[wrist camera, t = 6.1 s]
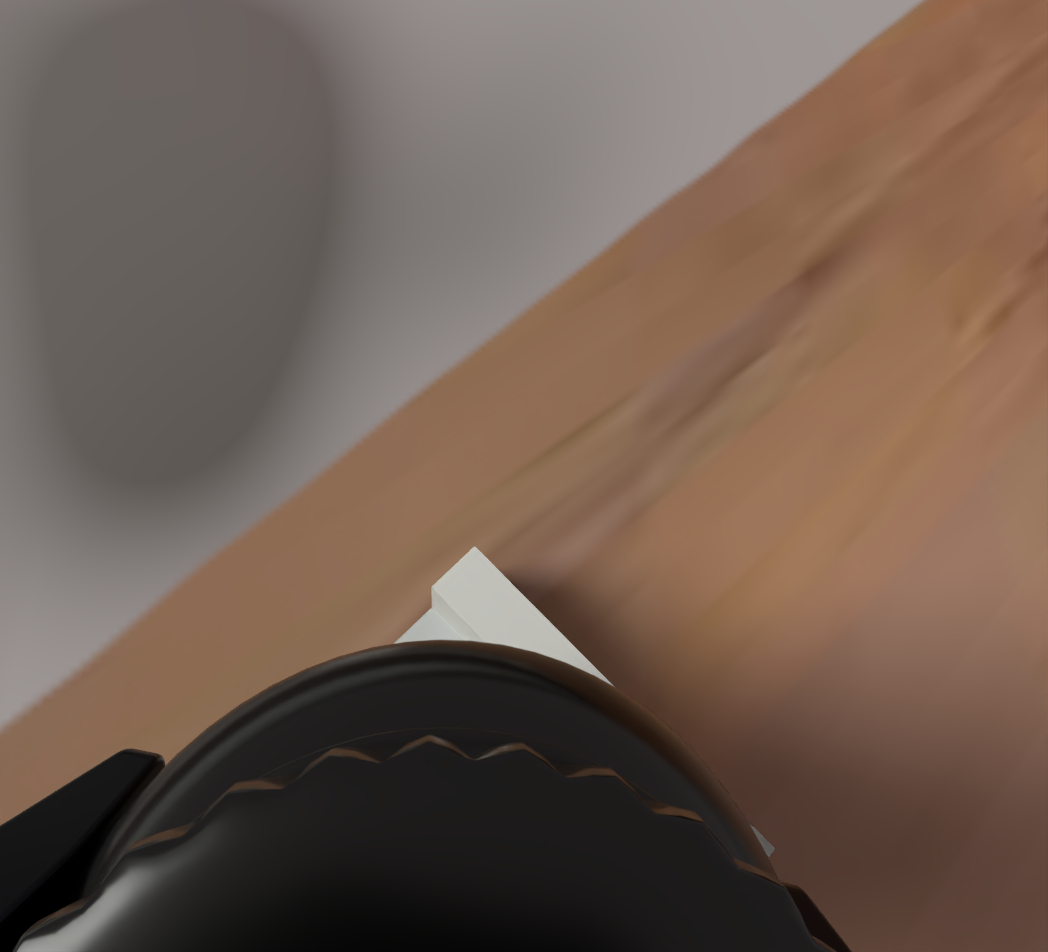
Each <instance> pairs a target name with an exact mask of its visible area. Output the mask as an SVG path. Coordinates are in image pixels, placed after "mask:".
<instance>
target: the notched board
mask: <svg viewBox="0 0 1048 952" xmlns="http://www.w3.org/2000/svg"><path fill="white" fill-rule="evenodd" d="M425 640H471V641H479V642H487V643H495V644H502V645H507V646H511V647H516V648H520V649H524V650H529V651H533V652H537V653H539V654H542V655H545V656H548V657H551V658H554V659H557V660H560V661H563V662H566V663H568V664H570V665H572V666H575V667H577V668H579V669H581V670H583V671H586V672H588V673H590V674H592V675H594V676H596V677H598V678H600V679H602V680H603V681H605V682H607V683H608V684H610V685H612V684H611V683H610V682H609V681H608V680H607V679H606V678H605V677H604V676H603V675H602V674H601V673H600V672H599V671H598V670H597V669H596V668H595V667H594V666H593V665H592V664H591V663H590V662H589V661H588V660H587V659H586V658H585V657H584V656H583V655H582V654H581V653H580V652H579V651H578V650H577V649H576V648H575V647H574V646H573V645H572V644H571V643H570V642H569V641H568V640H567V639H566V638H565V637H564V636H563V634H562V633H561V632H560V631H559V630H558V629H557V628H556V627H555V626H554V625H553V624H552V623H551V622H550V621H549V620H548V619H547V618H546V617H545V616H544V615H543V614H542V613H541V612H540V611H539V610H538V609H537V608H536V607H535V606H534V605H533V604H532V603H531V602H530V601H529V600H528V599H527V598H526V597H525V596H524V595H523V594H522V593H521V592H520V591H519V590H518V589H517V588H516V587H515V586H514V585H513V584H512V583H511V582H510V581H509V580H508V579H507V578H506V577H505V576H504V575H503V574H502V573H501V572H500V571H499V570H498V569H497V568H496V567H495V566H494V565H493V564H492V563H491V562H490V561H489V560H488V559H487V558H486V557H485V556H484V555H483V554H482V553H481V552H480V551H479V550H478V549H477V548H476V547H475V546H474V547H473V548H472V549H471V550H470V551H469V552H468V553H467V554H466V555H465V556H464V557H463V558H462V559H461V560H460V561H458V562H457V563H456V564H455V565H454V566H453V567H452V568H451V569H450V570H449V571H448V572H447V573H446V574H445V575H444V576H443V577H441V578H440V579H439V580H438V581H437V582H436V583H435V584H434V585H433V586H432V608H431V609H430V610H429V611H428V612H427V613H426V614H425V615H424V616H422V617H421V618H420V619H419V620H418V621H417V622H416V623H415V624H414V625H413V626H412V627H411V628H410V629H409V630H408V631H407V632H406V633H405V634H404V635H403V636H401V637H400V638H399V639H398V640H397V641H396V642H395V643H394V644H396V643H402V642H411V641H425ZM612 686H613V685H612ZM749 824H750V823H749ZM750 826H751V827H752V829H753V831H754V833H755V834H756V836H757V838H758V840H759V842H760V843H761V845H762V847H763V849H764V851H765V852H766V854H767V856H768V858H769V857H770V856H771V854H772V853H773V851H774V850H775V848H774V847H773V846H772V845H771V844H770V843H769V842H768V841H767V840H766V839H765V838H764V837H763V836H762V835H761V834H760V833H759V832H758V831H757V830H756V829H755V828H754V827H753V826H752V825H751V824H750Z"/></svg>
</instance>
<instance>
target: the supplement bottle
mask: <svg viewBox="0 0 1048 952" xmlns="http://www.w3.org/2000/svg"><path fill="white" fill-rule="evenodd" d="M12 952H836V951H835V950H833V949H832V948H831V947H829V946H828V945H827V944H825V943H824V942H822V941H820V940H819V939H817V938H815V937H813V936H812V935H811V934H810V932H809V930H808V929H807V927H806V925H805V923H804V920H803V917H802V914H801V912H800V910H799V909H798V907H797V905H796V904H795V902H794V900H793V899H792V897H791V895H790V894H789V892H788V890H787V889H786V887H785V886H784V885H783V884H782V882H781V881H780V880H779V879H778V878H777V876H776V873H775V871H774V869H773V867H772V865H771V862H770V860H769V858H768V856H767V854H766V852H765V851H764V849H763V847H762V845H761V843H760V842H759V840H758V838H757V836H756V834H755V833H754V831H753V829H752V827H751V826H750V824H749V822H748V821H747V819H746V818H745V816H744V815H743V813H742V812H741V810H740V809H739V807H738V806H737V804H736V803H735V801H734V800H733V798H732V797H731V795H730V794H729V792H728V791H727V790H726V789H725V787H724V786H723V785H722V784H721V782H720V781H719V780H718V779H717V777H716V776H715V775H714V774H713V772H712V771H711V770H710V769H709V767H708V766H707V765H706V764H705V763H704V761H703V760H702V759H701V758H700V757H699V756H698V755H697V754H696V753H695V752H694V751H693V750H692V749H691V748H690V747H689V746H688V745H687V744H686V743H685V742H684V741H683V740H682V739H681V738H680V737H679V736H678V735H677V734H676V733H675V732H674V731H673V730H672V729H671V728H669V727H668V726H667V725H666V724H665V723H664V722H662V721H661V720H660V719H659V718H658V717H657V716H656V715H654V714H653V713H652V712H651V711H649V710H648V709H646V708H645V707H644V706H642V705H641V704H639V703H638V702H637V701H635V700H634V699H632V698H631V697H630V696H628V695H627V694H625V693H624V692H622V691H621V690H619V689H617V688H615V687H614V686H612V685H610V684H608V683H607V682H605V681H603V680H602V679H600V678H598V677H596V676H594V675H592V674H590V673H588V672H586V671H583V670H581V669H579V668H577V667H575V666H572V665H570V664H568V663H566V662H563V661H560V660H557V659H554V658H551V657H548V656H545V655H542V654H539V653H537V652H533V651H529V650H524V649H520V648H516V647H511V646H507V645H502V644H495V643H487V642H479V641H471V640H425V641H411V642H402V643H396V644H390V645H384V646H378V647H372V648H369V649H365V650H361V651H357V652H354V653H350V654H346V655H343V656H339V657H336V658H334V659H331V660H328V661H326V662H323V663H320V664H318V665H315V666H312V667H310V668H307V669H305V670H302V671H300V672H298V673H296V674H294V675H292V676H290V677H288V678H286V679H284V680H282V681H280V682H278V683H275V684H273V685H272V686H270V687H268V688H267V689H265V690H263V691H262V692H260V693H258V694H257V695H255V696H253V697H252V698H250V699H248V700H247V701H245V702H243V703H241V704H240V705H239V706H237V707H236V708H234V709H233V710H232V711H230V712H229V713H227V714H226V715H225V716H223V717H222V718H221V719H219V720H218V721H216V722H215V723H214V724H212V725H211V726H209V727H208V728H207V729H206V730H205V731H204V732H202V733H201V734H200V735H199V736H198V737H197V738H195V739H194V740H193V741H192V742H191V743H190V744H188V745H187V746H186V747H185V748H184V749H183V750H181V751H180V752H179V753H178V754H177V755H176V756H175V757H174V758H173V759H172V760H171V761H170V762H169V763H168V764H167V765H166V766H165V767H164V768H163V769H162V770H161V771H160V772H159V773H158V774H157V775H156V776H155V777H154V778H153V779H152V780H151V781H150V782H149V783H148V784H147V785H146V786H145V787H144V789H143V790H142V791H141V792H140V793H139V794H138V796H137V797H136V798H135V799H134V800H133V802H132V803H131V804H130V805H129V806H128V808H127V809H126V810H125V811H124V812H123V814H122V815H121V816H120V817H119V818H118V820H117V821H116V822H115V824H114V825H113V827H112V828H111V829H110V831H109V832H108V834H107V835H106V836H105V838H104V839H103V841H102V842H101V843H100V845H99V846H98V848H97V849H96V851H95V852H94V853H93V855H92V856H91V858H90V859H89V861H88V863H87V864H86V866H85V868H84V869H83V871H82V873H81V874H80V876H79V878H78V879H77V881H76V883H75V884H74V886H73V888H72V889H71V891H70V893H69V894H68V896H67V898H66V900H65V902H64V904H63V906H62V908H61V909H60V910H58V911H56V912H54V913H52V914H50V915H48V916H46V917H44V918H43V919H41V920H39V921H38V922H36V923H35V924H33V925H32V926H31V927H30V928H29V929H28V930H27V931H26V932H25V933H24V934H23V935H22V936H21V938H20V940H19V941H18V943H17V944H16V946H15V947H14V949H13V950H12Z"/></svg>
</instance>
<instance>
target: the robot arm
mask: <svg viewBox="0 0 1048 952" xmlns="http://www.w3.org/2000/svg"><path fill="white" fill-rule="evenodd" d="M164 767H165V761H164V758H163V757H162V756H161V755H159V754H156V753H152V752H147V751H142V750H137V749H125V750H122V751H120V752H118V753H116V754H115V755H113V756H111V757H110V758H108V759H107V760H105V761H103V762H102V763H100V764H99V765H97V766H95V767H94V768H92V769H91V770H89V771H87V772H86V773H84V774H83V775H81V776H79V777H78V778H76V779H74V780H73V781H71V782H70V783H68V784H66V785H65V786H63V787H62V788H60V789H58V790H57V791H55V792H54V793H52V794H50V795H49V796H47V797H46V798H44V799H42V800H41V801H39V802H38V803H36V804H34V805H33V806H31V807H30V808H28V809H26V810H25V811H23V812H22V813H20V814H18V815H17V816H15V817H14V818H12V819H10V820H9V821H7V822H6V823H4V824H2V825H1V826H0V952H12V950H13V949H14V947H15V946H16V944H17V943H18V941H19V940H20V938H21V936H22V935H23V934H24V933H25V932H26V931H27V930H28V929H29V928H30V927H31V926H32V925H33V924H35V923H36V922H38V921H39V920H41V919H43V918H44V917H46V916H48V915H50V914H52V913H54V912H56V911H58V910H60V909H61V908H62V906H63V904H64V902H65V900H66V898H67V896H68V894H69V893H70V891H71V889H72V888H73V886H74V884H75V883H76V881H77V879H78V878H79V876H80V874H81V873H82V871H83V869H84V868H85V866H86V864H87V863H88V861H89V859H90V858H91V856H92V855H93V853H94V852H95V851H96V849H97V848H98V846H99V845H100V843H101V842H102V841H103V839H104V838H105V836H106V835H107V834H108V832H109V831H110V829H111V828H112V827H113V825H114V824H115V822H116V821H117V820H118V818H119V817H120V816H121V815H122V814H123V812H124V811H125V810H126V809H127V808H128V806H129V805H130V804H131V803H132V802H133V800H134V799H135V798H136V797H137V796H138V794H139V793H140V792H141V791H142V790H143V789H144V787H145V786H146V785H147V784H148V783H149V782H150V781H151V780H152V779H153V778H154V777H155V776H156V775H157V774H158V773H159V772H160V771H161V770H162V769H163V768H164ZM782 884H783V885H784V886H785V887H786V889H787V890H788V892H789V894H790V895H791V897H792V899H793V900H794V902H795V904H796V905H797V907H798V909H799V910H800V912H801V914H802V917H803V920H804V923H805V925H806V927H807V929H808V930H809V932H810V934H811V935H812V936H813V937H815V938H817V939H819V940H820V941H822V942H824V943H825V944H827V945H828V946H829V947H831V948H832V949H833V950H835V951H836V952H852V951H851V950H850V949H849V948H848V946H847V945H846V944H845V942H844V941H843V940H842V939H841V937H840V936H839V935H838V933H837V932H836V931H835V930H834V928H833V927H832V926H831V924H830V923H829V922H828V921H827V919H826V918H825V917H824V915H823V914H822V913H821V912H820V910H819V909H818V908H817V906H816V905H815V904H814V903H813V901H812V900H811V899H810V898H809V896H808V895H807V894H806V893H805V892H804V891H803V890H802V889H801V888H800V887H798V886H796V885H793V884H788V883H783V882H782Z"/></svg>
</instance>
